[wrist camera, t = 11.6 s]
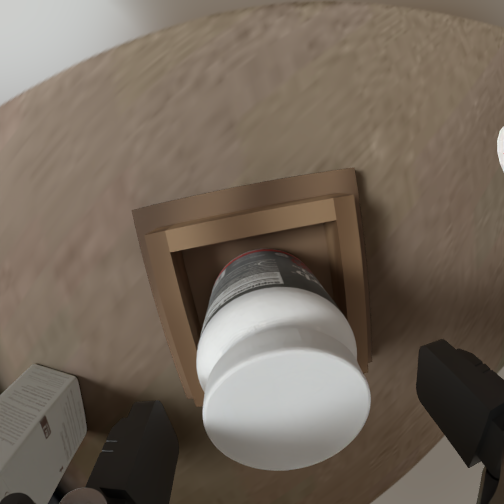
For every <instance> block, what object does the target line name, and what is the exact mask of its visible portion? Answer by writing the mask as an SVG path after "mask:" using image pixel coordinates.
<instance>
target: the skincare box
mask: <svg viewBox="0 0 504 504" xmlns="http://www.w3.org/2000/svg"><path fill="white" fill-rule="evenodd" d="M86 432H87V425H86V419H85V413H84V407H83V402H82V397H81V392H80V387H79V383H78V380H77V378H76V377H75V376H73V375H70V374H67V373H64V372H61V371H57V370H54V369H51V368H47V367H44V366H40V365H36V364H33V365H32V366H30V367H29V368H28V369H27V370H26V371H25V372H24V373H23V374H22V375H21V376H20V377H19V378H18V379H17V380H16V381H15V382H14V383H13V384H11V385H10V386H9V387H8V388H7V389H6V390H5V391H4V392H3V393H2V394H1V395H0V501H1V500H2V499H3V498H4V497H6V496H7V495H9V494H12V493H24V494H26V495H28V496H29V497H30V498H31V499H32V500H33V501H34V502H35V503H36V504H48V502H49V500H50V498H51V496H52V494H53V492H54V490H55V489H56V487H57V485H58V483H59V481H60V479H61V477H62V476H63V474H64V472H65V470H66V468H67V466H68V465H69V463H70V461H71V459H72V457H73V456H74V454H75V452H76V450H77V449H78V447H79V445H80V443H81V442H82V440H83V438H84V436H85V435H86Z"/></svg>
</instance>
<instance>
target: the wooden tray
mask: <svg viewBox="0 0 504 504" xmlns="http://www.w3.org/2000/svg"><path fill="white" fill-rule="evenodd" d="M132 214H133V219H134V223H135V228H136V232H137V236H138V240H139V245H140V249H141V253H142V257H143V260H144V264H145V268H146V272H147V276H148V279H149V283H150V287H151V290H152V294H153V297H154V301H155V304H156V307H157V311H158V314H159V317H160V321H161V324H162V327H163V330H164V333H165V337H166V340H167V343H168V346H169V349H170V352H171V355H172V358H173V361H174V364H175V366H176V369H177V372H178V375H179V378H180V380H181V383H182V386H183V389H184V391H185V394H186V397H187V399H190V398H193V399H194V402H195V404H196V407H200V406H203V402H204V394H205V393H204V391H203V389H202V387H201V384H200V381H199V378H198V374H197V366H196V359H197V349H198V343H199V339H200V335H201V331H202V328H203V324H204V320H205V316H206V312H207V309H208V305H209V301H210V297H211V293H212V289H213V286H214V284H215V281H216V279H217V277H218V276H219V274H220V272H221V271H222V270H223V268H224V267H225V266H226V265H227V264H228V263H229V262H230V261H232V260H233V259H234V258H236V257H238V256H239V255H241V254H243V253H246V252H249V251H252V250H257V249H276V250H280V251H284V252H286V253H289V254H291V255H293V256H295V257H296V258H298V259H299V260H300V261H302V262H303V263H304V264H305V265H306V266H307V267H308V268H309V269H310V271H311V272H312V273H313V274H314V276H315V277H316V278H317V280H318V281H319V282H320V284H321V285H322V286H323V288H324V289H325V290H326V292H327V293H328V294H329V296H330V297H331V298H332V300H333V301H334V302H335V303H336V305H337V306H338V307H339V309H340V310H341V312H342V313H343V314H344V316H345V318H346V319H347V321H348V323H349V325H350V327H351V329H352V331H353V334H354V338H355V341H356V347H357V362H358V364H359V366H360V368H361V370H362V372H363V374H364V373H367V372H368V363H370V362H372V338H371V314H370V297H369V283H368V271H367V260H366V250H365V241H364V232H363V224H362V216H361V208H360V201H359V194H358V188H357V181H356V175H355V169H354V168H346V169H339V170H332V171H326V172H319V173H313V174H306V175H300V176H294V177H288V178H282V179H277V180H271V181H265V182H260V183H255V184H249V185H244V186H239V187H234V188H229V189H224V190H219V191H214V192H209V193H204V194H200V195H195V196H190V197H186V198H181V199H177V200H173V201H168V202H164V203H160V204H155V205H151V206H147V207H143V208H139V209H135V210H132Z"/></svg>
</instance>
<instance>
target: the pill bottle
mask: <svg viewBox="0 0 504 504" xmlns="http://www.w3.org/2000/svg"><path fill="white" fill-rule="evenodd" d="M196 366H197V374H198V378H199V381H200V384H201V387H202V389H203V391H204V393H205V394H204V402H203V423H204V427H205V430H206V433H207V435H208V437H209V438H210V440H211V441H212V443H213V444H214V445H215V446H216V447H217V449H218V450H220V451H221V452H222V453H223V454H224V455H226V456H227V457H229V458H231V459H232V460H235V461H236V462H239V463H241V464H243V465H246V466H250V467H253V468H258V469H264V470H292V469H298V468H303V467H307V466H310V465H314V464H317V463H319V462H321V461H324V460H326V459H328V458H330V457H332V456H333V455H335V454H336V453H338V452H339V451H341V450H342V449H343V448H345V447H346V446H347V445H348V444H349V443H350V442H351V441H352V440H353V439H354V438H355V437H356V436H357V435H358V433H359V432H360V430H361V429H362V428H363V426H364V424H365V422H366V420H367V417H368V414H369V410H370V404H371V395H370V389H369V385H368V382H367V380H366V378H365V376H364V374H363V372H362V370H361V368H360V366H359V364H358V362H357V347H356V341H355V338H354V334H353V331H352V329H351V327H350V325H349V323H348V321H347V319H346V318H345V316H344V314H343V313H342V312H341V310H340V309H339V307H338V306H337V305H336V303H335V302H334V301H333V300H332V298H331V297H330V296H329V294H328V293H327V292H326V290H325V289H324V288H323V286H322V285H321V284H320V282H319V281H318V280H317V278H316V277H315V276H314V274H313V273H312V272H311V271H310V269H309V268H308V267H307V266H306V265H305V264H304V263H303V262H302V261H300V260H299V259H298V258H296V257H295V256H293V255H291V254H289V253H286V252H284V251H280V250H276V249H257V250H252V251H249V252H246V253H243V254H241V255H239V256H238V257H236V258H234V259H233V260H232V261H230V262H229V263H228V264H227V265H226V266H225V267H224V268H223V270H222V271H221V272H220V274H219V276H218V277H217V279H216V281H215V284H214V286H213V289H212V293H211V297H210V301H209V305H208V309H207V312H206V316H205V320H204V324H203V328H202V331H201V335H200V339H199V343H198V349H197V359H196Z"/></svg>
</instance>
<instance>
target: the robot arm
mask: <svg viewBox="0 0 504 504" xmlns="http://www.w3.org/2000/svg"><path fill="white" fill-rule="evenodd" d="M416 390H417V395H418V398H419V400H420V402H421V404H422V405H423V406H424V408H425V409H426V410H427V412H428V413H429V414H430V416H431V417H432V418H433V420H434V421H435V422H436V424H437V425H438V426H439V428H440V429H441V431H442V432H443V433H444V435H445V436H446V437H447V439H448V440H449V441H450V443H451V444H452V446H453V447H454V448H455V450H456V451H457V452H458V454H459V455H460V456H461V458H462V459H463V461H464V462H465V464H466V465H467V467H468V468H470V467H472V466H474V465H475V464H477V463H479V462H481V461H482V463H483V464H484V465H485V467H484V468H483V471H482V477H481V482H480V488H479V494H478V498H477V503H476V504H504V380H503V379H502V378H501V377H500V376H498V375H497V374H496V373H495V372H494V371H493V370H490V368H489V367H488V366H487V365H486V364H483V363H482V361H481V360H480V359H478V358H477V357H476V356H475V355H474V354H472V353H470V352H467V351H464V350H462V349H455V348H454V347H452V346H451V345H450V344H449V343H448V342H447V341H445V340H444V339H440V340H438V341H435V342H432V343H429V344H427V345H424V346H422V347H421V348H420V350H419V357H418V371H417V382H416ZM106 441H107V442H106V443H105V444H104V446H103V448H102V452H101V453H100V455H99V457H98V459H97V462H96V464H95V466H94V468H93V471H92V473H91V475H90V477H89V480H88V482H87V484H86V487H85V488H79V489H76V490H73V491H71V492H69V493H68V494H67V495H65V496H64V498H63V499H62V500H61V502H60V504H169V501H170V495H171V490H172V485H173V480H174V474H175V469H176V464H177V459H178V454H179V445H178V439H177V436H176V434H175V431H174V429H173V427H172V425H171V423H170V421H169V419H168V416H167V414H166V412H165V410H164V407H163V405H162V404H161V402H160V401H158V400H157V401H142V402H135V403H134V404H133V406H132V408H131V410H130V413H129V415H128V417H127V418H122V419H121V420H120V421H119V422H118V423H117V424H116V425H115V426H114V427H113V428H112V429H111V431H110V433H109V435H108V437H107V440H106ZM0 504H36V503H35V502H34V501H33V500H32V499H31V498H30V497H29V496H28V495H26V494H24V493H12V494H9V495H7V496H6V497H4V498H3V499H2V500H1V501H0Z"/></svg>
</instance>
